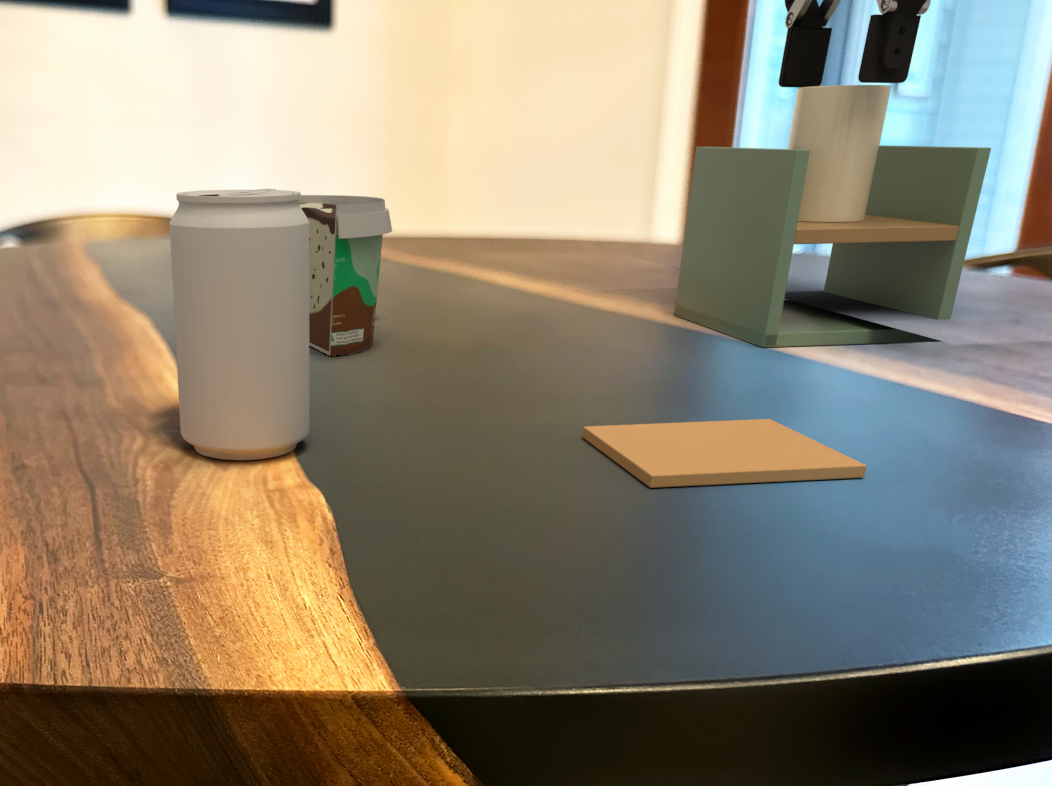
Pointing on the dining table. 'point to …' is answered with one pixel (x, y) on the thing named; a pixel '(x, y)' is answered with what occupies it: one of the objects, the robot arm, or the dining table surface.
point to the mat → (719, 453)
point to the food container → (344, 269)
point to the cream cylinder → (838, 148)
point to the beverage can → (241, 321)
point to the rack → (858, 247)
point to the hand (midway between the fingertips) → (837, 84)
